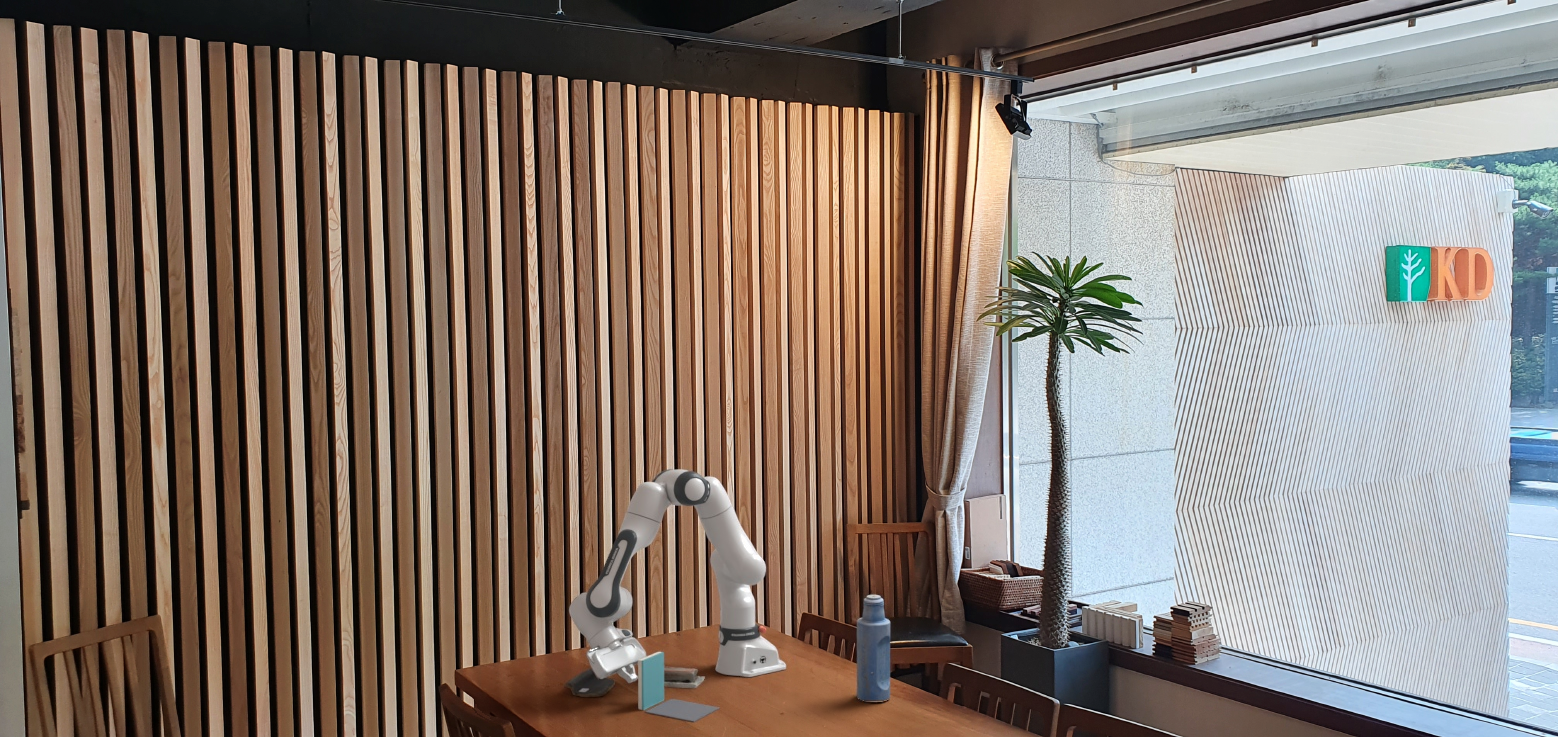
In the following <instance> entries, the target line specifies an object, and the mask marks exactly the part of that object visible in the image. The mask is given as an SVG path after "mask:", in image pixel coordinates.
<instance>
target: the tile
mask: <svg viewBox="0 0 1558 737" xmlns="http://www.w3.org/2000/svg"><path fill="white" fill-rule="evenodd" d="M664 666H665V652H664V651H657V652H654V653H652V654H650V655H649V654H648V655H646V657H644V658H642V659H639V660H638V666H637V668H638V669H637V672H638V673H637V676H638V679H637V681H638V683H637V685H638V686H637V689H638V691H637V693H638V694H637V695H638V697H637V698H638V699H637V701H638V702H637V703H638V705H637V706H638V710H640V711H646V710H648V709H650V708H653V707H655V705H656V706H657V705H659V704H661V703H663V702H665V687H664Z"/></svg>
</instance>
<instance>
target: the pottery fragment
mask: <svg viewBox="0 0 1558 737" xmlns="http://www.w3.org/2000/svg"><path fill="white" fill-rule="evenodd" d="M615 684H616V681H615V678H614V679H613V678H609V677H606V678H604V679H600V678H598V677H597V676H596V674H595V672H594V671H593V669H592V668H588V669H586V670H584V671H582V672H581V673H579V674H577V675H576V676H574V677H573V678H572V679H570V680H568V681H567V682H566V683H565V684H564V688H569V689H570V691H571V693H572V695H573V696H577V697H582V698H588V697H589V698H592V697H593V698H597V697H603V696H604V695H606V694H607V693H608V692H609V691H610V690H611V688H612V689H613V688H614V687H615ZM607 691H608V692H607Z"/></svg>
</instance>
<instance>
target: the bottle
mask: <svg viewBox="0 0 1558 737" xmlns="http://www.w3.org/2000/svg"><path fill="white" fill-rule="evenodd" d="M862 604H863V610H862V617H859V618H858V619H857V620H856V698H857V699H858V698H859V699H860V700H859V699H858V700H859V701H861V700H864V701H884V700H887V699H889V698H890V699H891V621H890V620H889V618H886V616H885V615H886V614H885V607H884V606H885V602H884V598H882V597H881V595H878V594H869V595H866V597H865V598H863V603H862ZM890 699H889V700H890Z"/></svg>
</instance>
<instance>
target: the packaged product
mask: <svg viewBox="0 0 1558 737" xmlns="http://www.w3.org/2000/svg"><path fill="white" fill-rule="evenodd" d="M698 672H699V669H697V668H692V667H691V668H690V667H680V666H679V667H678V666H667V665H664V686H666V687H665V688H679V689H680V688H681V689H695V688H698V687H699V686H700V685H701V684H702V683H703V682H704V681H705V680H704V679H706V676H699V675H697V674H698ZM667 686H668V687H667Z"/></svg>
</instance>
